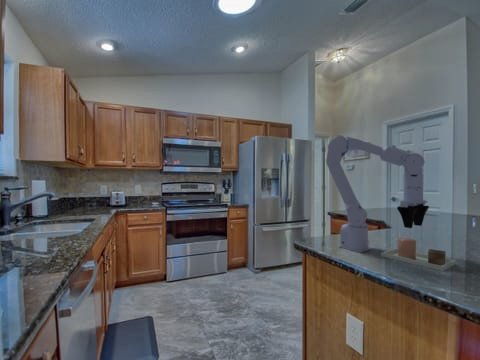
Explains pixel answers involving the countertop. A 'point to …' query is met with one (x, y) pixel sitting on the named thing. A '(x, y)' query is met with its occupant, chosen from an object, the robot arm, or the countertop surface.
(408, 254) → the brown rounded cylinder
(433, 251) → the walnut block
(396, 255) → the tray
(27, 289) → the countertop surface
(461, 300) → the countertop surface
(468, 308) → the countertop surface
